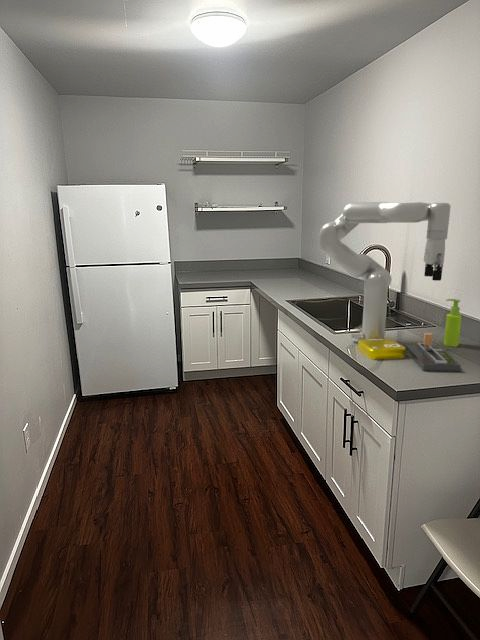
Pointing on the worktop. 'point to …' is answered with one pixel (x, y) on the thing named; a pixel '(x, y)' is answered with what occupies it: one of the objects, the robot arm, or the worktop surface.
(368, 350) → the element tile
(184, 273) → the worktop surface
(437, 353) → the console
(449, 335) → the soap dispenser
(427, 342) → the fader knob
